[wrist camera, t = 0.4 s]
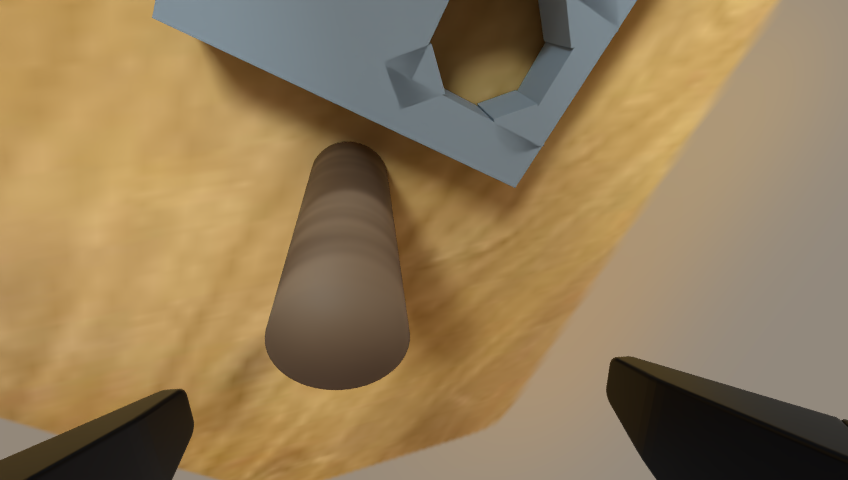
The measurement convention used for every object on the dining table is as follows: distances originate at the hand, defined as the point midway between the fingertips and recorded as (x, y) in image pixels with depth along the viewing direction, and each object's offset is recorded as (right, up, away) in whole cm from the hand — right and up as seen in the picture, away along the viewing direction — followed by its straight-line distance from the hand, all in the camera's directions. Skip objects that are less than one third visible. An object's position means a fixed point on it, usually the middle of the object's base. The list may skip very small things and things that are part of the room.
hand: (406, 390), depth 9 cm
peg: (-4, +6, +13) cm, 15 cm away
